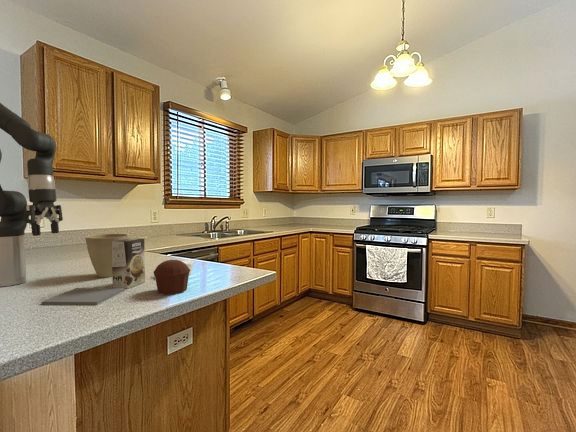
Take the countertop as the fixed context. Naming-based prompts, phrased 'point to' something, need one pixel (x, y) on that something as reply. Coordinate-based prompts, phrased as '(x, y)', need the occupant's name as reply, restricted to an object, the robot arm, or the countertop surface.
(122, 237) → the plant pot
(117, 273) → the coffee box
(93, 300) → the mat
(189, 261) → the ramekin
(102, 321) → the countertop surface
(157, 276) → the muffin
